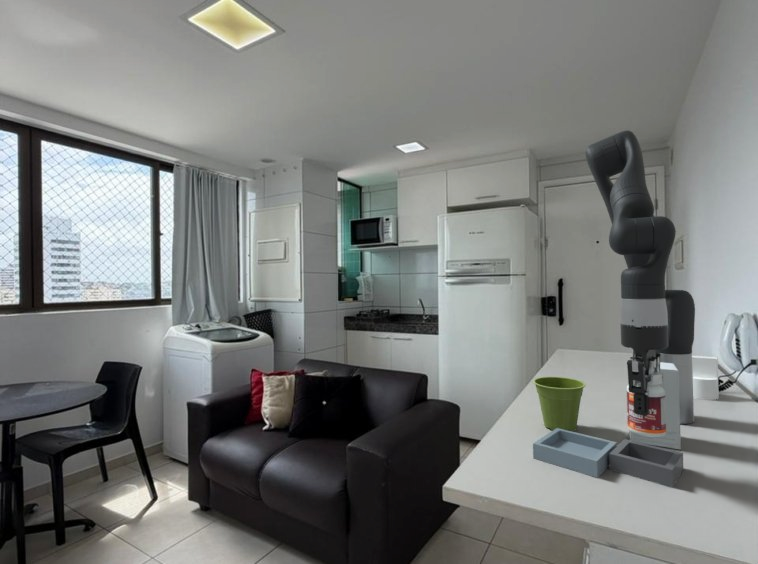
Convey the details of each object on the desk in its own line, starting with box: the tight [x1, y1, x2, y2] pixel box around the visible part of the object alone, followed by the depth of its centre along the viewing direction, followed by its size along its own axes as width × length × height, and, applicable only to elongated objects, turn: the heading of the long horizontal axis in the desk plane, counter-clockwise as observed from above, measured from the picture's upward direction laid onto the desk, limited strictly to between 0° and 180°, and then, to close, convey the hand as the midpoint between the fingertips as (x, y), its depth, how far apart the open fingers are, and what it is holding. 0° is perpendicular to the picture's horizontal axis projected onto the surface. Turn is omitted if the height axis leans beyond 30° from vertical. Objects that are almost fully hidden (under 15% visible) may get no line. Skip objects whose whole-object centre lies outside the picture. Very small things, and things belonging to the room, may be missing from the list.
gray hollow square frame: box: [609, 438, 684, 488], centre depth 76 cm, size 10×10×3 cm
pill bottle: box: [626, 371, 666, 437], centre depth 76 cm, size 6×6×11 cm
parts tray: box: [532, 428, 618, 479], centre depth 81 cm, size 12×12×3 cm
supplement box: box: [628, 362, 682, 451], centre depth 90 cm, size 10×9×17 cm
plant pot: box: [532, 376, 587, 432], centre depth 98 cm, size 12×12×11 cm
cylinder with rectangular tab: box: [692, 355, 720, 401], centre depth 123 cm, size 9×9×12 cm
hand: (646, 409), depth 76 cm, fingers closed on pill bottle, 6 cm apart
